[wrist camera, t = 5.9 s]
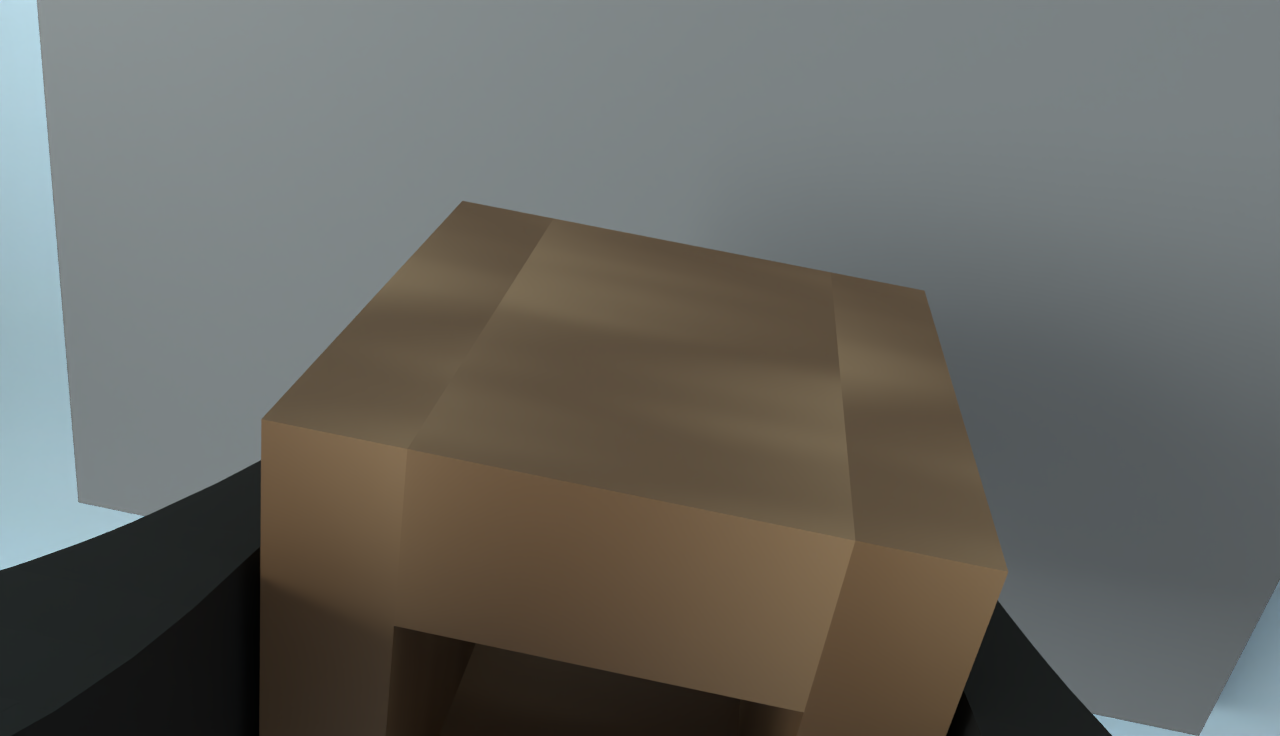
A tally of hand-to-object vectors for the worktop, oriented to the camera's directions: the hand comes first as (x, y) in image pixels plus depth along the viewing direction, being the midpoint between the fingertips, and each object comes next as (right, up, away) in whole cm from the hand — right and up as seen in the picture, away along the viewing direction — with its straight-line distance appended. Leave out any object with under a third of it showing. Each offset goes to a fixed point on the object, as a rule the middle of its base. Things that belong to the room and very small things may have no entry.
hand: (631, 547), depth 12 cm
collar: (0, +1, +1) cm, 1 cm away
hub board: (+1, +4, +5) cm, 7 cm away
